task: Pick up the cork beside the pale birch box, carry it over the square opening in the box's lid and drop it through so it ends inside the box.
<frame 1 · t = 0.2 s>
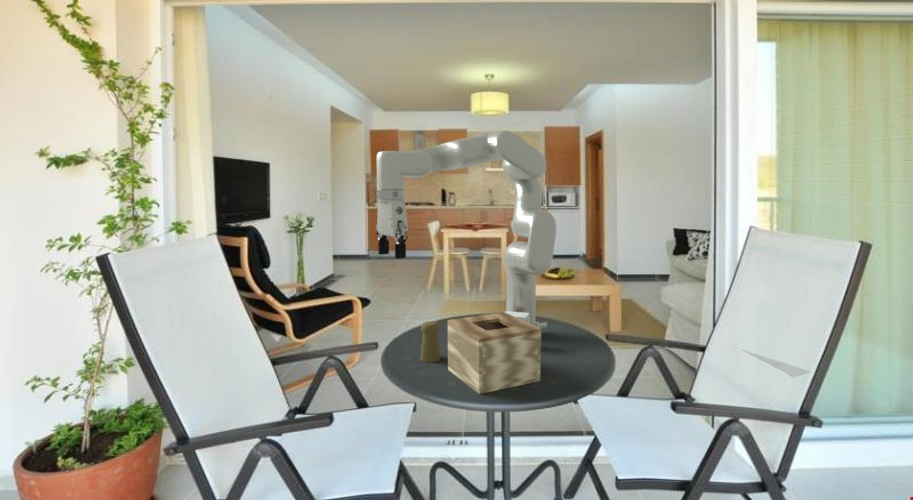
hand: (391, 256, 144), 30 cm above the table, tool pointing down, fingers open, 9 cm apart
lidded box: (492, 375, 135), on the table
small box: (515, 347, 158), on the table
cork: (430, 359, 148), on the table
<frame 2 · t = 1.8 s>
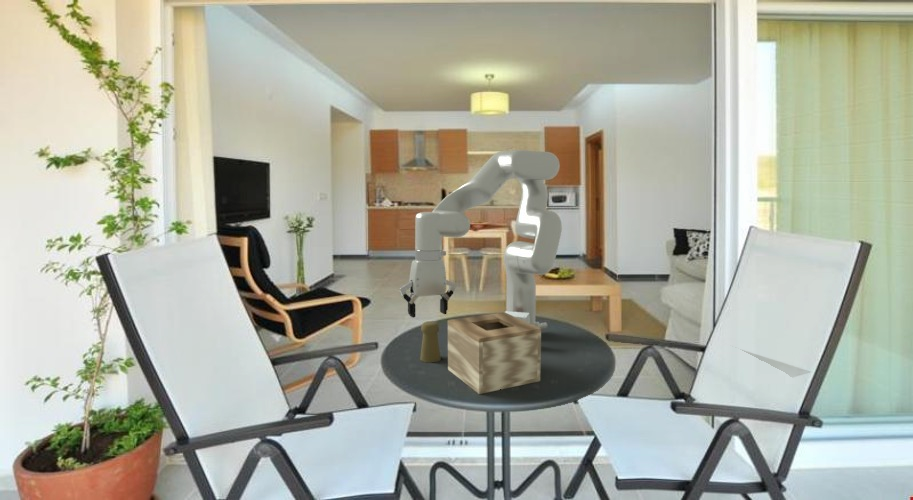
hand: (427, 314, 146), 13 cm above the table, tool pointing down, fingers open, 9 cm apart
nothing on the table moved.
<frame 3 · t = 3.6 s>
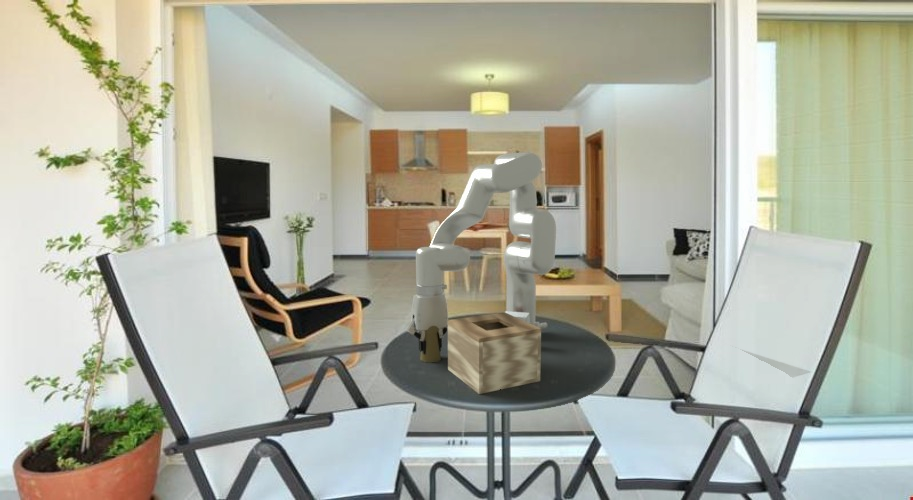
hand: (430, 351, 147), 2 cm above the table, tool pointing down, fingers closed on cork, 3 cm apart
cork: (430, 359, 148), on the table, touching gripper
everything else where it was.
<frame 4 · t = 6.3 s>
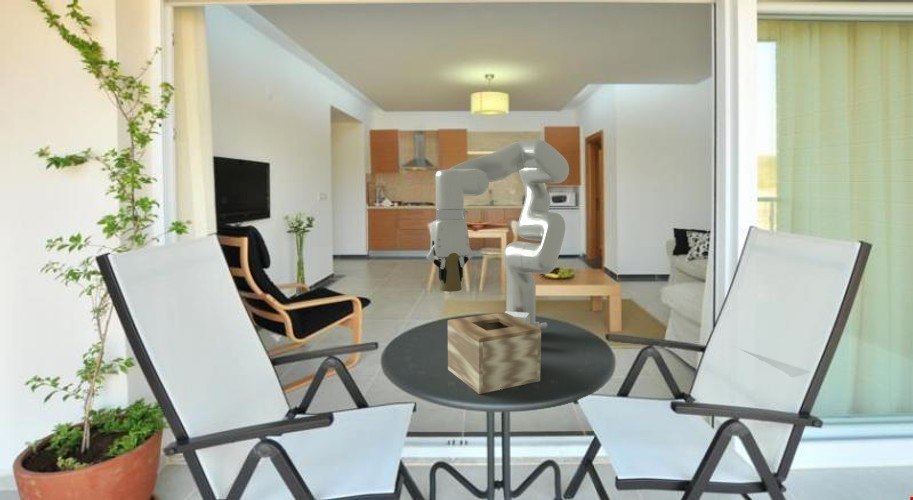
hand: (450, 281, 140), 24 cm above the table, tool pointing down, fingers closed on cork, 3 cm apart
cork: (450, 289, 140), point 21 cm above the table, touching gripper
everything else where it was.
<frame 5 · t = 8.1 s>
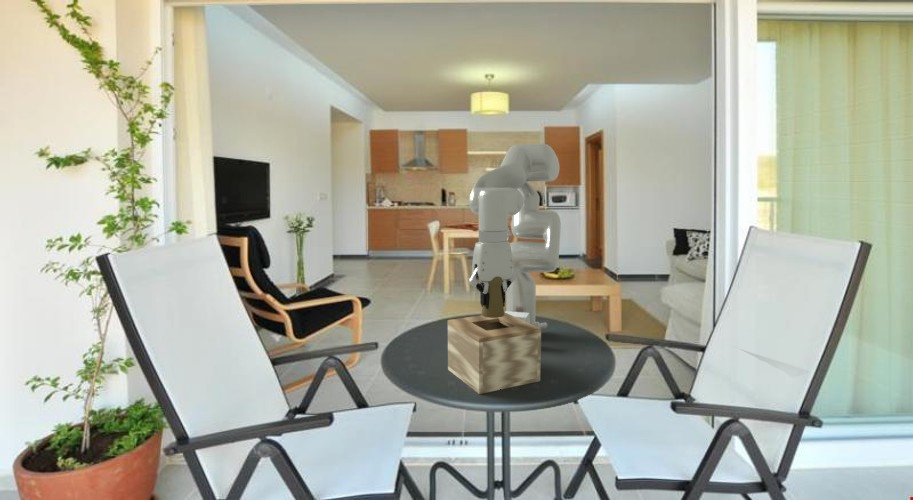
hand: (492, 306, 132), 19 cm above the table, tool pointing down, fingers closed on cork, 3 cm apart
cork: (492, 315, 133), point 16 cm above the table, touching gripper
everything else where it was.
when the fingers open (17 cm above the table, at t = 9.1 s): cork drops 13 cm, resting on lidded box.
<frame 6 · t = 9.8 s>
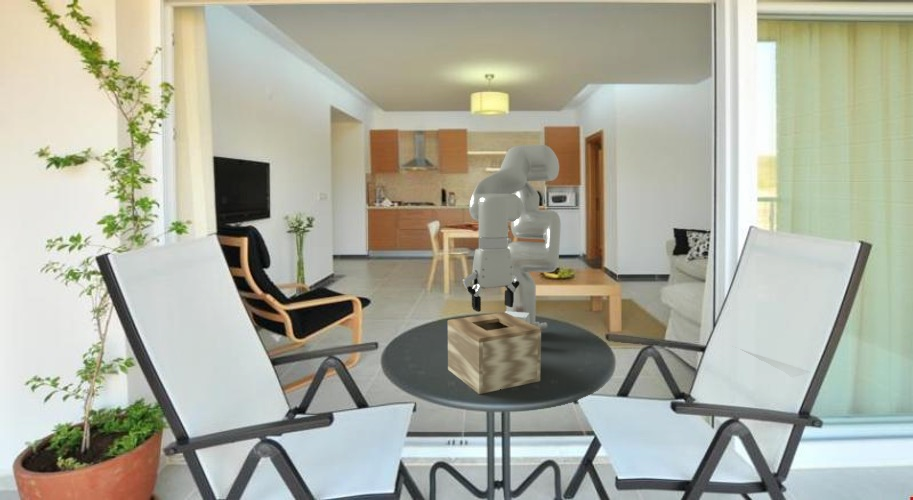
hand: (492, 308, 133), 18 cm above the table, tool pointing down, fingers open, 9 cm apart
cork: (496, 367, 135), point 2 cm above the table, touching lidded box
everything else where it was.
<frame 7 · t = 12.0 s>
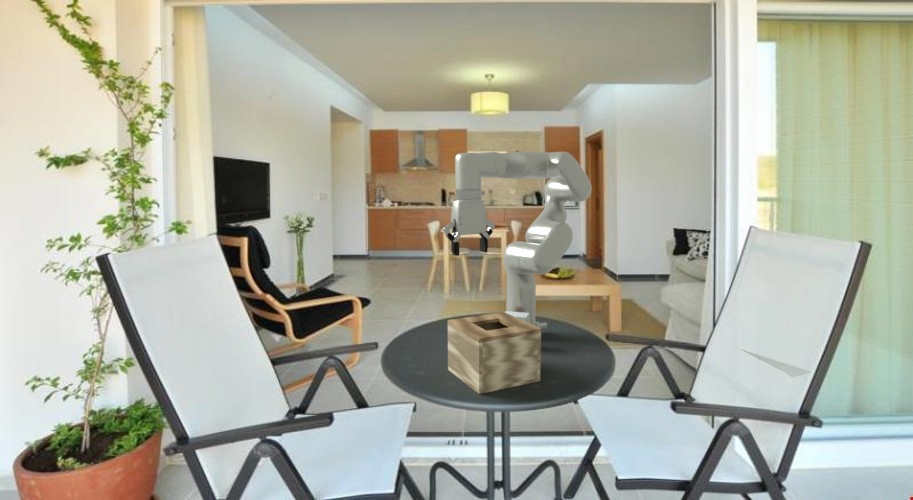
hand: (469, 253, 151), 30 cm above the table, tool pointing down, fingers open, 9 cm apart
nothing on the table moved.
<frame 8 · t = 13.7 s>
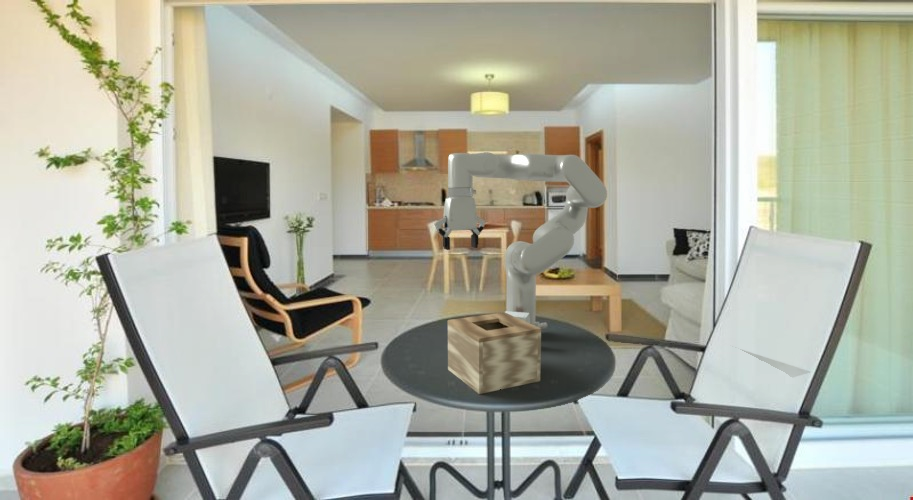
hand: (460, 248, 159), 30 cm above the table, tool pointing down, fingers open, 9 cm apart
nothing on the table moved.
at the end: cork inside the target area on the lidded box (1.2 cm from its centre), point 2.0 cm above the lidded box's base; the gripper is holding nothing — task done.
